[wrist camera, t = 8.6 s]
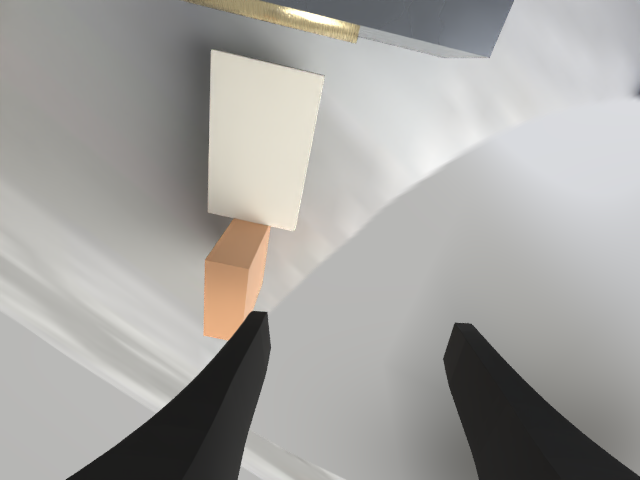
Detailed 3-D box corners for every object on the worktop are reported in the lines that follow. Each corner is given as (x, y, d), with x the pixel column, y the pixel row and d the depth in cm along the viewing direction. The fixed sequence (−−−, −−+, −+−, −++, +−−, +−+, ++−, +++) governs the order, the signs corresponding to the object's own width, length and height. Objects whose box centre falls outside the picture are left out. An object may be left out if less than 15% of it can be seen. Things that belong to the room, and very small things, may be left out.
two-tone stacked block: (324, 75, 14) (316, 82, 10) (284, 288, 21) (268, 348, 17) (217, 49, 14) (161, 45, 10) (210, 273, 21) (175, 329, 16)
